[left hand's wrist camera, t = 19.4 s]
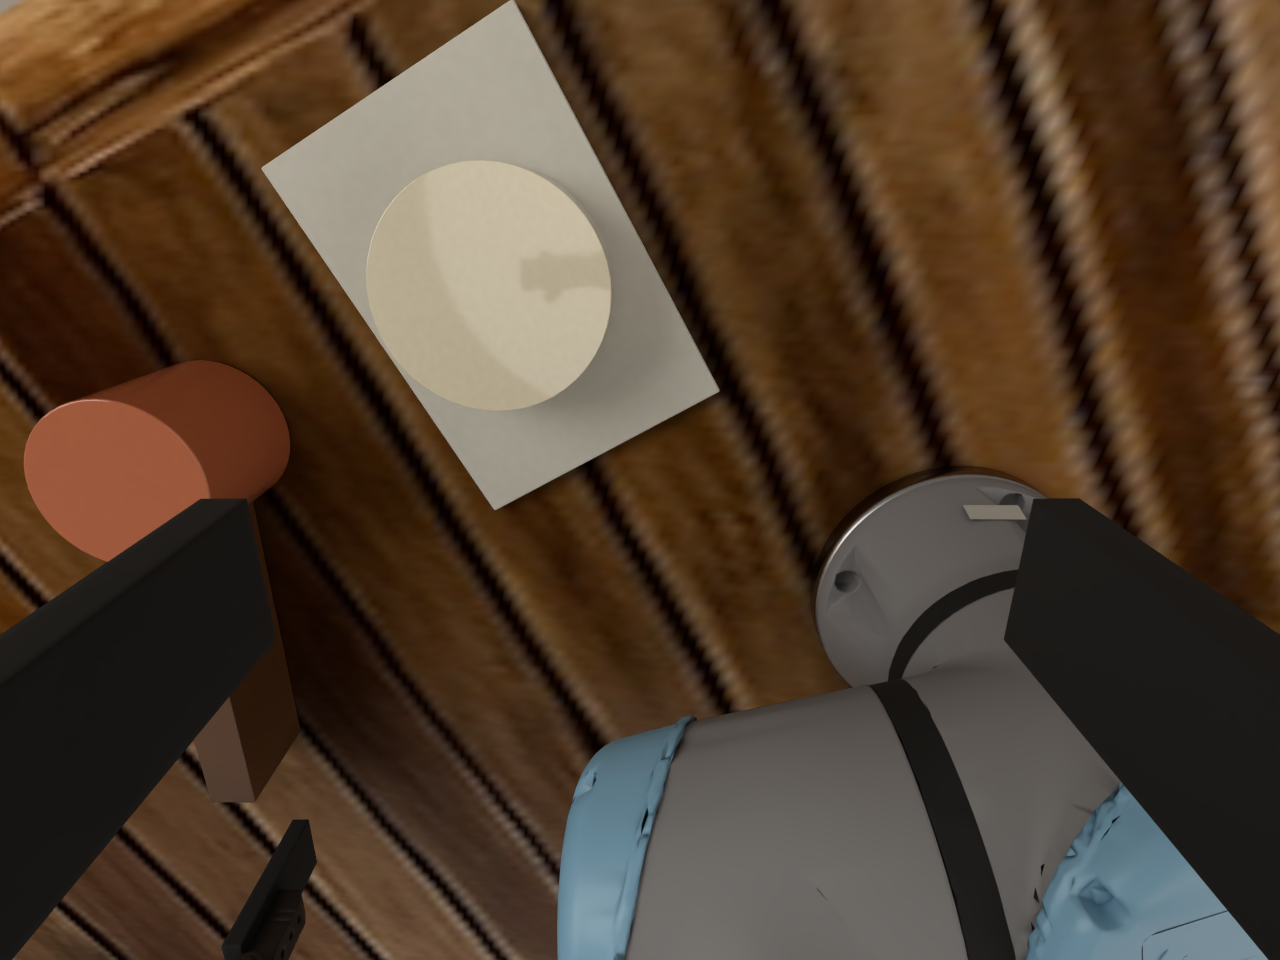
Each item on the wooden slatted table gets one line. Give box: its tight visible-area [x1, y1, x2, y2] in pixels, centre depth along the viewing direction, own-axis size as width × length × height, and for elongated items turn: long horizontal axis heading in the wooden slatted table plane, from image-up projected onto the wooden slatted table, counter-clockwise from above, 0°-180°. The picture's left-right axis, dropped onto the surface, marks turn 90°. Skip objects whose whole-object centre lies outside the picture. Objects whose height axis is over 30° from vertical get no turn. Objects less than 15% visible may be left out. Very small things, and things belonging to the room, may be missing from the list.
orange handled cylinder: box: [24, 360, 301, 802], centre depth 39 cm, size 24×8×8 cm, turn 0°
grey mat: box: [262, 0, 719, 510], centre depth 36 cm, size 20×14×1 cm
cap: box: [366, 160, 614, 411], centre depth 34 cm, size 11×11×4 cm
